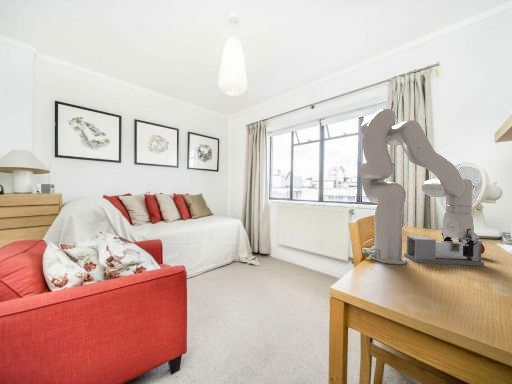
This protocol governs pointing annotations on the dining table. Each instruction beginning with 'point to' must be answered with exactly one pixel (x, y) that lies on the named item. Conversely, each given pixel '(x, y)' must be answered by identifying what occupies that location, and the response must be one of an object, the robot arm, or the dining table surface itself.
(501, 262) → the dining table surface
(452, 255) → the grey rectangular block
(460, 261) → the board
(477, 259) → the socket
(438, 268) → the dining table surface
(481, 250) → the onion
